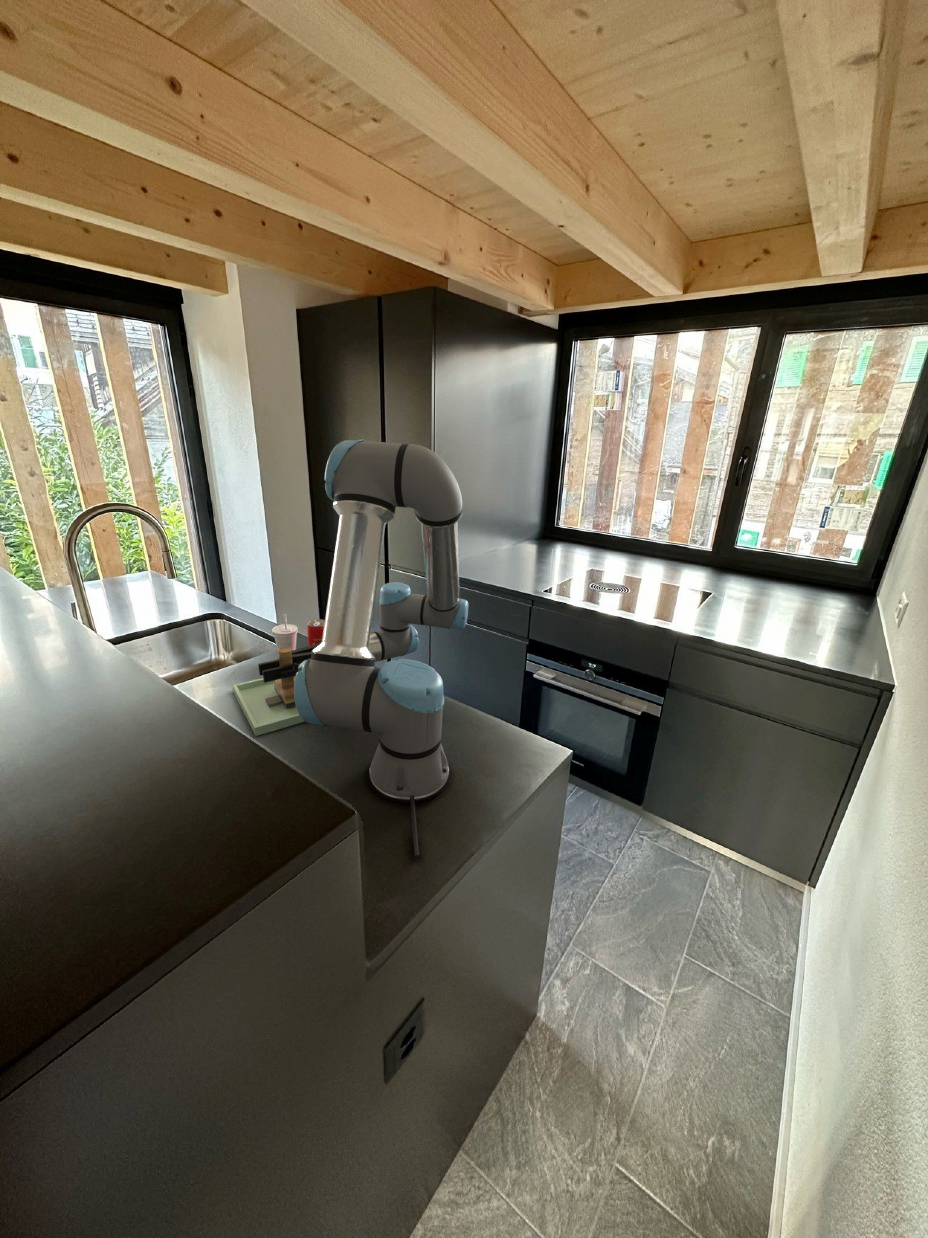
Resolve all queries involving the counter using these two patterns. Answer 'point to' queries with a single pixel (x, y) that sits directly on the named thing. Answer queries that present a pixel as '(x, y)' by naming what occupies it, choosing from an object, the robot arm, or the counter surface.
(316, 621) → the beverage can
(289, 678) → the brush
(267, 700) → the pad
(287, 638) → the smoothie
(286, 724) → the tray
